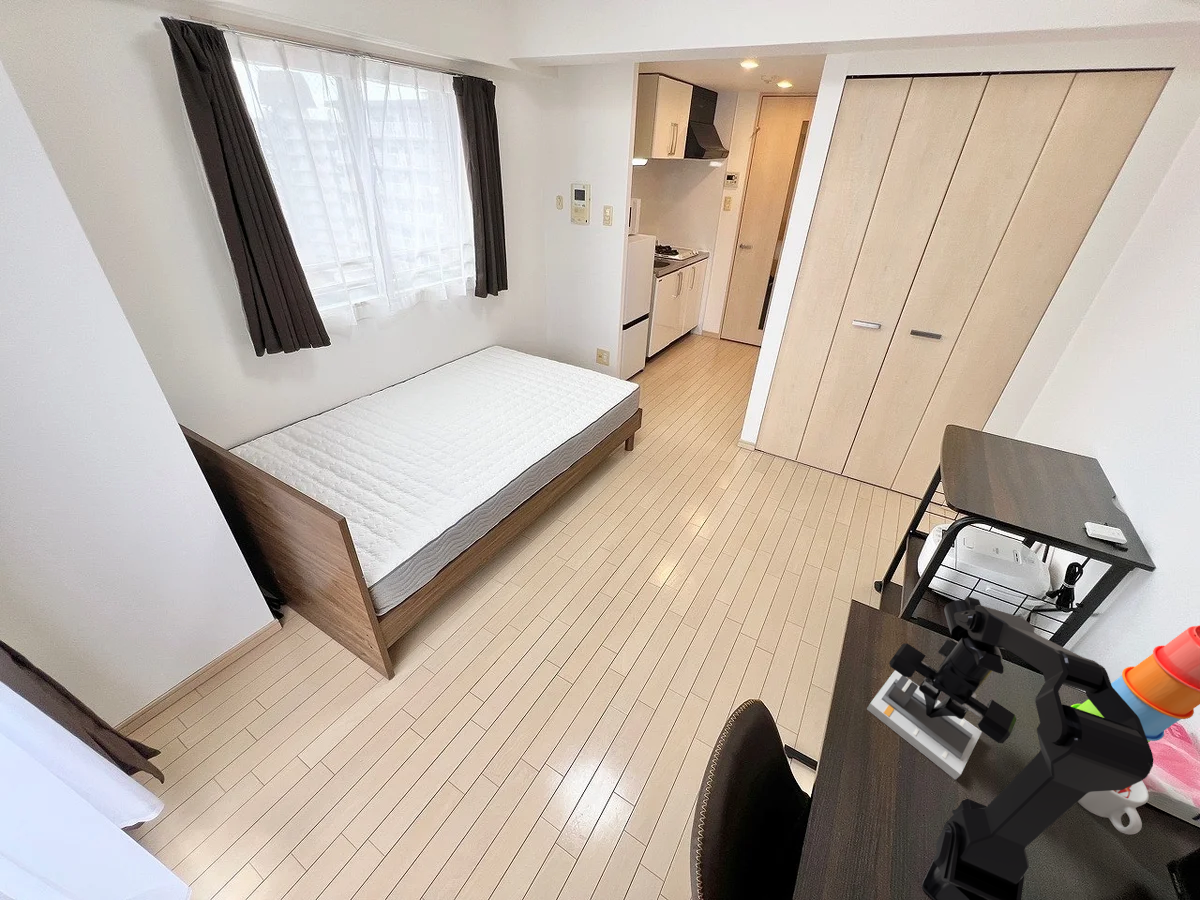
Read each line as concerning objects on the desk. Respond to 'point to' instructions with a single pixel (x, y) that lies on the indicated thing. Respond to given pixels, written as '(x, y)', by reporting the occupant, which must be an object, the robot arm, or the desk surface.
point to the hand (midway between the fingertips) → (929, 714)
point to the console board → (927, 728)
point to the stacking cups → (1161, 685)
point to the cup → (1118, 805)
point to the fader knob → (903, 691)
